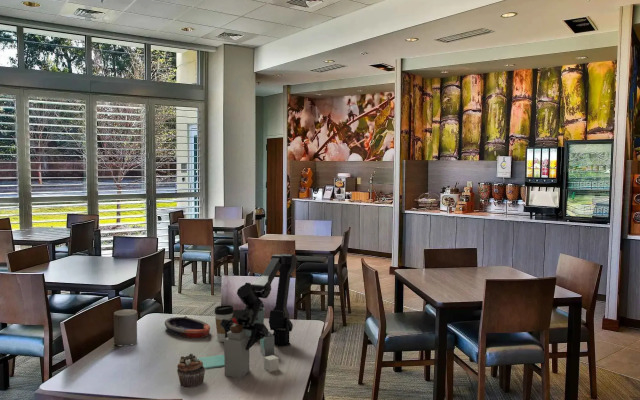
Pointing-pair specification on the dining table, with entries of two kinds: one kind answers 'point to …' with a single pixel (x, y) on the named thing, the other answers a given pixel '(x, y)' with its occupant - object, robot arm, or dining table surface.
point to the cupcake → (190, 371)
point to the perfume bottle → (236, 352)
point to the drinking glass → (260, 320)
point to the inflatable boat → (187, 327)
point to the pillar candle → (125, 327)
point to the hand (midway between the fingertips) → (235, 348)
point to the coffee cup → (222, 313)
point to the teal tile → (213, 361)
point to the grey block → (271, 363)
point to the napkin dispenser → (267, 345)
